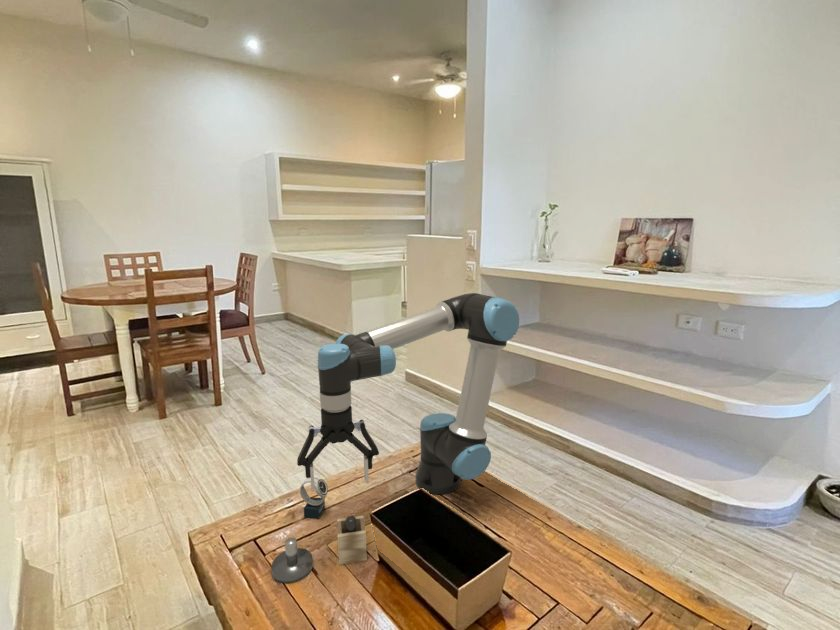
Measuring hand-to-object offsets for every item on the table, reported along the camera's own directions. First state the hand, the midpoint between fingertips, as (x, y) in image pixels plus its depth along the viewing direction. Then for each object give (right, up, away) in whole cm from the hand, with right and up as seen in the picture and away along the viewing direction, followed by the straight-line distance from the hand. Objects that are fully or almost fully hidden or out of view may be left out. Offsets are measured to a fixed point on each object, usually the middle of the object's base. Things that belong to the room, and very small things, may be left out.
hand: (340, 483), depth 113 cm
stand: (+3, -19, +3) cm, 19 cm away
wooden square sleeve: (+3, -19, +3) cm, 19 cm away
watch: (-11, -16, +19) cm, 27 cm away
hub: (-12, -20, -2) cm, 23 cm away
